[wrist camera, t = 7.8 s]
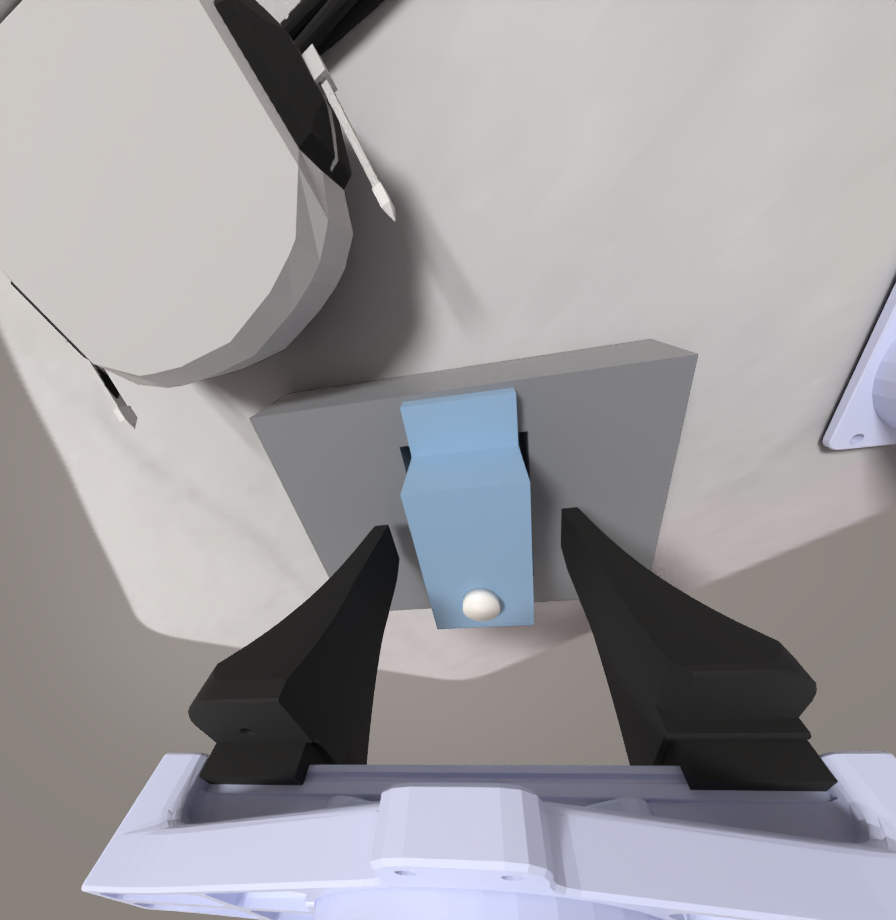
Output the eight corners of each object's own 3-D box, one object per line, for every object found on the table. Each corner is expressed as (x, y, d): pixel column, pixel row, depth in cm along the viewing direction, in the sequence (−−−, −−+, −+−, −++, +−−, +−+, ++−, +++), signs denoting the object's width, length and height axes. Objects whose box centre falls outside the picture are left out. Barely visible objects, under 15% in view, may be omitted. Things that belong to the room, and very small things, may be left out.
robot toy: (-133, 19, 10) (216, 411, 15) (-536, -172, 6) (122, 448, 11) (56, -464, 7) (430, 255, 12) (-604, -1671, 3) (404, 228, 8)
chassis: (651, 339, 13) (698, 354, 10) (620, 551, 19) (645, 595, 16) (287, 393, 15) (249, 418, 12) (361, 571, 21) (346, 613, 18)
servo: (505, 369, 13) (530, 426, 8) (517, 557, 19) (536, 662, 13) (413, 382, 14) (381, 444, 9) (450, 561, 19) (444, 665, 14)
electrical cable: (498, -169, 8) (502, -226, 7) (514, -106, 8) (520, -152, 7) (172, 151, 11) (147, 140, 10) (195, 184, 11) (174, 177, 11)
